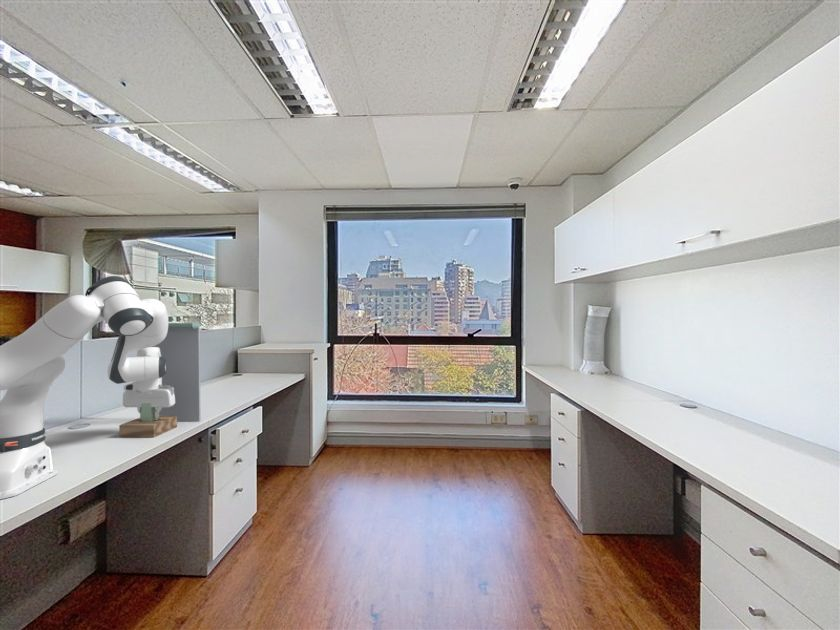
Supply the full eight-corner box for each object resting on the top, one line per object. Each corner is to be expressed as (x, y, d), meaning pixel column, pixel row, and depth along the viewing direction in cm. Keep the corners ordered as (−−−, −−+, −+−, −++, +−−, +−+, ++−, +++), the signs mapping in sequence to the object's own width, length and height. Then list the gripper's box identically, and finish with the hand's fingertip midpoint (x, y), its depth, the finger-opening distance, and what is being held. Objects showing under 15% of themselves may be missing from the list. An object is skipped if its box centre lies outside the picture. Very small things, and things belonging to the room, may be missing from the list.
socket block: (153, 437, 151) (153, 425, 150) (119, 437, 151) (119, 425, 151) (176, 426, 165) (176, 415, 164) (145, 426, 165) (145, 415, 165)
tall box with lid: (193, 424, 168) (192, 323, 168) (140, 424, 168) (139, 323, 168) (200, 420, 173) (199, 322, 173) (149, 420, 174) (148, 323, 173)
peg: (151, 427, 156) (150, 403, 156) (141, 427, 156) (141, 403, 156) (157, 424, 160) (157, 401, 160) (148, 424, 160) (148, 401, 160)
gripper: (178, 383, 160) (178, 415, 160) (131, 383, 161) (131, 415, 161) (168, 386, 154) (168, 419, 154) (119, 386, 154) (119, 419, 155)
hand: (149, 417), depth 158 cm, fingers closed on peg, 4 cm apart
